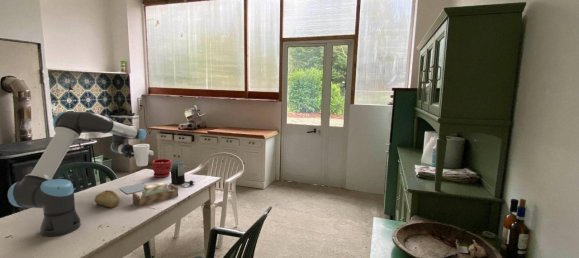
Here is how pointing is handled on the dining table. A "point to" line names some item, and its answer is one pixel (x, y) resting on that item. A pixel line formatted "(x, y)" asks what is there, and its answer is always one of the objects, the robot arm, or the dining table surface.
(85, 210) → the dining table surface
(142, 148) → the foam cup
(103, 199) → the bread roll
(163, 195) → the offcut rack
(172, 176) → the milk frother
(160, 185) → the short birch offcut
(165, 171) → the plant pot
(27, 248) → the dining table surface
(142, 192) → the sage painted offcut
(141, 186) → the slate mat
